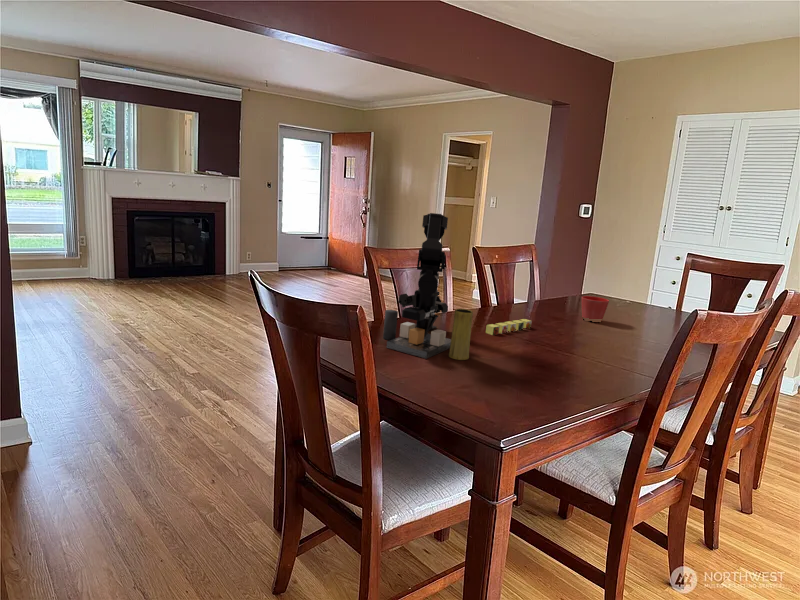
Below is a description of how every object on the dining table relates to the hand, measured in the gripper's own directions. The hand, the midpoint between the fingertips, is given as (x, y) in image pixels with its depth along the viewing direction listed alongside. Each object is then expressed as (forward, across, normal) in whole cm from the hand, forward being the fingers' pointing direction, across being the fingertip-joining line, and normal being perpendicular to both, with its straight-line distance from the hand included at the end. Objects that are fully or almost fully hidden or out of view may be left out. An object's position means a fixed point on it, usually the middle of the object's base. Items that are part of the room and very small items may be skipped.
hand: (423, 337), depth 164 cm
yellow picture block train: (+4, -44, +14) cm, 46 cm away
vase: (+3, 0, +13) cm, 13 cm away
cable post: (+3, 0, -12) cm, 12 cm away
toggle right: (+1, 0, +5) cm, 6 cm away
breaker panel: (+3, 0, 0) cm, 3 cm away
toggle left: (+1, 0, -6) cm, 6 cm away
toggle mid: (+1, +4, 0) cm, 4 cm away
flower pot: (+3, -90, +31) cm, 95 cm away
